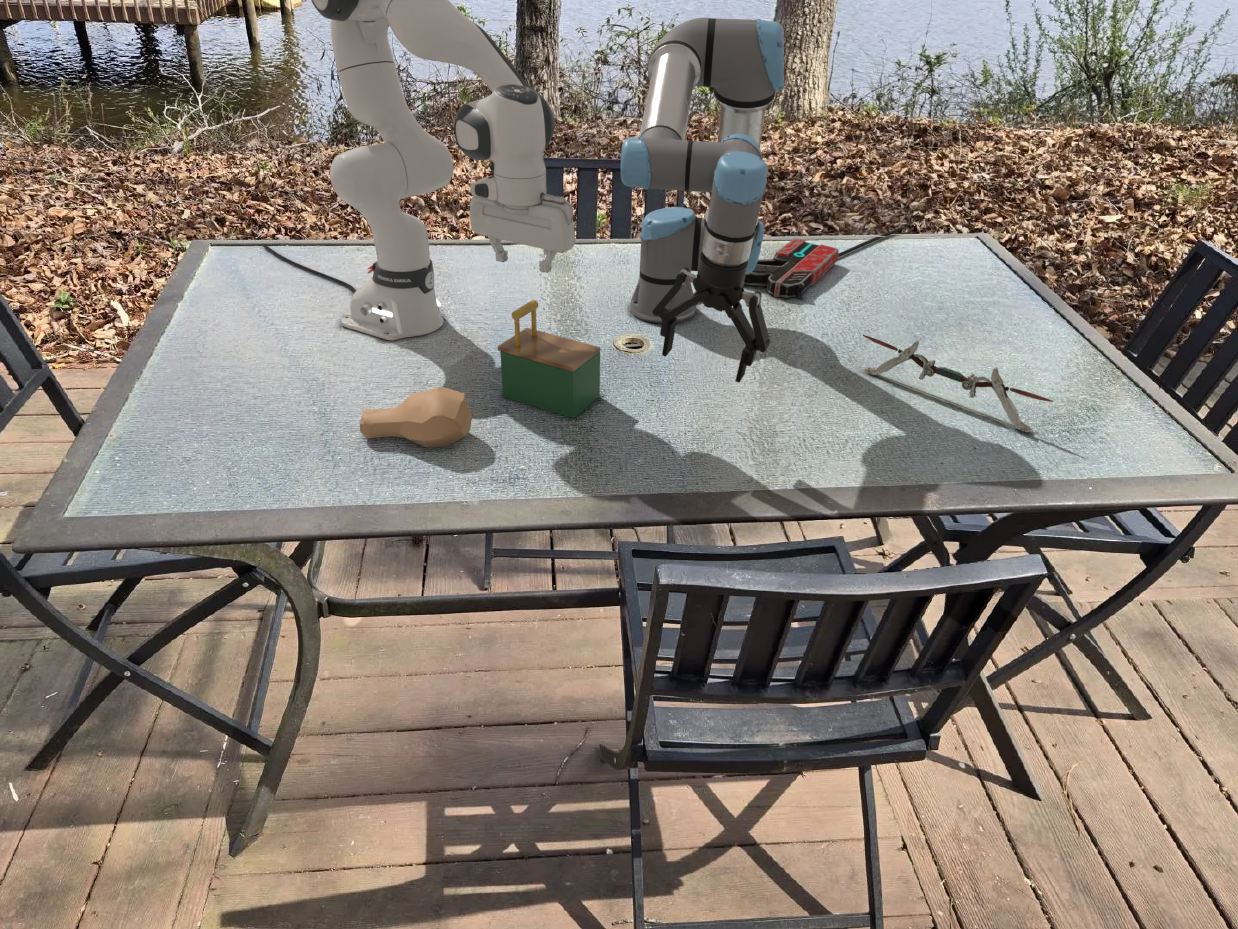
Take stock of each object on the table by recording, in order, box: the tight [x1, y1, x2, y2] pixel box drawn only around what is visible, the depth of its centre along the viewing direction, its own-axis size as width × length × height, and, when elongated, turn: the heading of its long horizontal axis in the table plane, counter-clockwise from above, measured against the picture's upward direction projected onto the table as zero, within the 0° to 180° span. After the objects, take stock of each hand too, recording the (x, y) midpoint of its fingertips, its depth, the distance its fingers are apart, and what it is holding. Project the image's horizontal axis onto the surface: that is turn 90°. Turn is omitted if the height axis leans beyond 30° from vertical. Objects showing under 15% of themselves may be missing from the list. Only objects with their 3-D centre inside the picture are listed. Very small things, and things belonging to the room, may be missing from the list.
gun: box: [744, 238, 840, 299], centre depth 224 cm, size 4×31×19 cm
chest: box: [499, 351, 601, 419], centre depth 167 cm, size 16×10×10 cm, turn 61°
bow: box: [862, 334, 1055, 433], centre depth 169 cm, size 39×2×10 cm, turn 47°
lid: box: [497, 299, 601, 372], centre depth 162 cm, size 17×10×8 cm, turn 61°
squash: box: [359, 386, 473, 449], centre depth 154 cm, size 11×20×9 cm, turn 90°
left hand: (523, 266), depth 158 cm, fingers open, 8 cm apart
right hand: (702, 365), depth 151 cm, fingers open, 13 cm apart
